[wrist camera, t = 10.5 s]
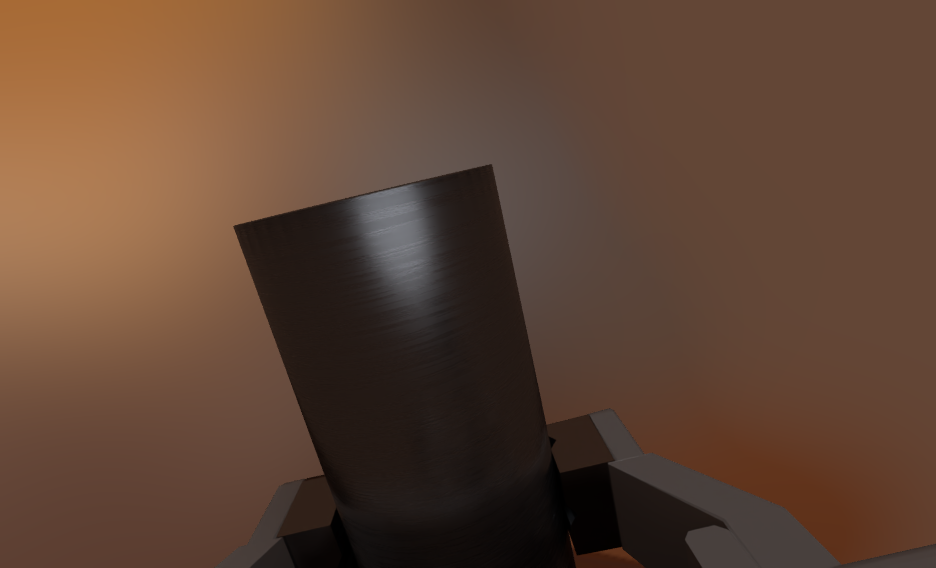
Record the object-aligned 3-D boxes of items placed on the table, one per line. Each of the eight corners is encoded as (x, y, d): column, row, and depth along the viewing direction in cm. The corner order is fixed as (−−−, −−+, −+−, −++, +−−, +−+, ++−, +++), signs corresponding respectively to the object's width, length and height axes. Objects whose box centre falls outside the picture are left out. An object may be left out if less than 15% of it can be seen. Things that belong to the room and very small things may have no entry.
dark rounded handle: (589, 667, 12) (481, 165, 9) (653, 892, 9) (507, 161, 5) (451, 698, 12) (289, 211, 9) (452, 935, 9) (170, 242, 5)
